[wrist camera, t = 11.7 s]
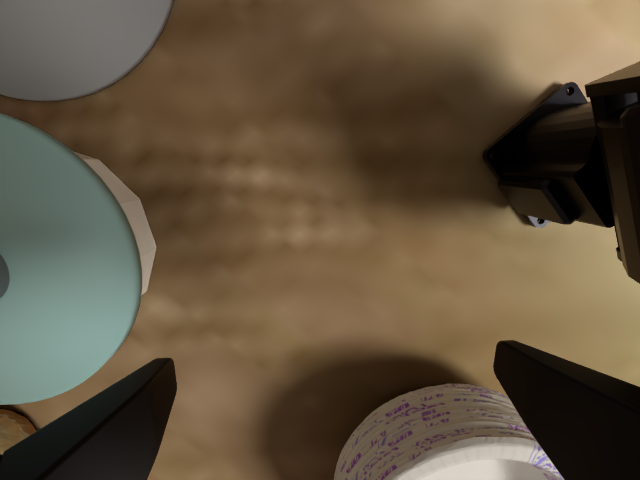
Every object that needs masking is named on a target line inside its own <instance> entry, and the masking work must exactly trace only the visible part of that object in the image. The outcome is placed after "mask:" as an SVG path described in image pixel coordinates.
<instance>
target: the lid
mask: <svg viewBox="0 0 640 480" xmlns="http://www.w3.org/2000/svg"><path fill="white" fill-rule="evenodd" d="M141 294H142V266H141V259H140V252H139V249H138V245H137V242H136V238H135V235H134V232H133V230H132V228H131V225H130V223H129V221H128V218H127V216H126V214H125V212H124V211H123V209H122V207H121V206H120V204H119V202H118V200H117V199H116V197H115V196H114V194H113V193H112V192H111V190H110V189H109V188H108V186H107V185H106V184H105V182H104V181H103V180H102V178H101V177H100V176H99V175H98V174H97V173H96V172H95V171H94V170H93V169H92V168H91V167H90V166H89V165H88V164H87V163H86V162H85V161H84V160H83V159H82V158H80V157H79V156H78V155H77V154H76V153H75V152H73V151H72V150H71V149H70V148H69V147H67V146H66V145H64V144H63V143H61V142H60V141H58V140H57V139H55V138H54V137H52V136H51V135H49V134H48V133H46V132H44V131H42V130H40V129H38V128H36V127H34V126H32V125H30V124H28V123H26V122H24V121H21V120H19V119H16V118H13V117H11V116H8V115H6V114H2V113H0V405H8V404H22V403H29V402H36V401H39V400H43V399H47V398H50V397H54V396H56V395H59V394H61V393H63V392H66V391H68V390H70V389H72V388H74V387H75V386H77V385H79V384H81V383H82V382H84V381H85V380H86V379H88V378H89V377H90V376H92V375H93V374H94V373H95V372H97V371H98V370H99V369H100V368H101V367H102V366H103V365H104V364H105V363H106V362H107V361H108V360H109V359H110V358H111V357H112V356H113V354H114V353H115V352H116V351H117V350H118V349H119V348H120V347H121V345H122V344H123V342H124V341H125V339H126V338H127V336H128V335H129V333H130V331H131V329H132V326H133V324H134V322H135V320H136V317H137V313H138V310H139V307H140V301H141Z"/></svg>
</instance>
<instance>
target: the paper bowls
mask: <svg viewBox="0 0 640 480" xmlns="http://www.w3.org/2000/svg"><path fill="white" fill-rule="evenodd" d="M334 480H564V479H563V477H562V476H561V475H560V473H559V472H558V470H557V469H556V468H555V466H554V465H553V463H552V462H551V461H550V459H549V458H548V456H547V455H546V454H545V452H544V451H543V449H542V448H541V447H540V445H539V444H538V442H537V441H536V440H535V438H534V437H533V436H532V434H531V433H530V431H529V430H528V428H527V427H526V425H525V424H524V422H523V420H522V419H521V417H520V416H519V414H518V412H517V411H516V409H515V407H514V406H513V404H512V402H511V400H510V399H509V398H508V397H506V396H505V395H503V394H501V393H499V392H497V391H493V390H491V389H488V388H483V387H481V386H474V385H471V384H455V383H453V384H450V383H449V384H444V385H437V386H430V387H425V388H421V389H418V390H415V391H410V392H408V393H406V394H403V395H400V396H398V397H396V398H394V399H392V400H390V401H388V402H387V403H385V404H383V405H382V406H380V407H379V408H377V409H376V410H375V411H373V412H372V413H371V414H370V415H369V416H367V417H366V418H365V419H364V420H363V422H362V423H361V424H360V425H359V426H358V427H357V428H356V429H355V431H354V432H353V433H352V435H351V436H350V438H349V439H348V441H347V442H346V444H345V445H344V447H343V449H342V451H341V453H340V456H339V459H338V462H337V465H336V471H335V474H334Z"/></svg>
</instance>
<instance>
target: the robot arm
mask: <svg viewBox="0 0 640 480" xmlns="http://www.w3.org/2000/svg"><path fill="white" fill-rule="evenodd" d="M567 89H568V90H569V94H568V95H567V94H566V90H567ZM585 90H586V95H587V97H590V100H591V102H587V100H586V99H585V97H584V95H583V94H582V92H581V90H580V89H579V87H578V85H577V84H576V83H574V82H569V83H566V84H563V85H561V86H560V87H559V88H558V89H556V90H555V91H554V92H553V93H552V94H551V95H549V96H548V97H547V98H546V99H545V100H543V101H542V102H541V103H540V104H539V105H538V106H536V107H535V108H534V109H533V110H532V111H530V112H529V113H528V114H527V115H526V116H525V117H523V118H522V119H521V120H520V121H519V122H517V123H516V124H515V125H514V126H513V127H512V128H510V129H509V130H508V131H507V132H506V133H504V134H503V135H502V136H501V137H500V138H498V139H497V140H496V141H495V142H494V143H493V144H491V145H490V146H489V147H488V148H487V149H486V150H485V151H484V153H483V159H484V161H485V163H486V164H487V165H488V167H489V168H490V169H491V171H492V172H493V174H494V175H495V176H496V178H497V179H498V187H499V188H500V190H501V191H502V192H503V194H504V195H505V196H506V198H507V199H508V201H509V202H510V203H511V205H512V206H513V207H514V209H515V210H516V212H517V213H519V214H523V215H524V216H525V218H526V219H527V220H528V222H529V223H530V224H531V225H532V226H534V227H538V228H542V227H544V226H546V225H547V224H548V223H550V222H551V221H552V222H556V223H560V224H572V223H573V222H574V221H579V222H584V223H588V224H593V225H598V226H602V227H607V228H611V227H613V226H614V227H615V232H616V237H617V242H618V247H617V248H616V251H617V256H618V259H619V260H620V261H622V262H623V266H624V268H625V270H626V272H627V274H628V276H629V277H631V278H632V279H634V280H635V281H637V282H638V283H640V62H637V63H635V64H633V65H630V66H628V67H626V68H623V69H621V70H619V71H616V72H614V73H612V74H609V75H607V76H605V77H602V78H600V79H598V80H595V81H593V82H591V83H588V84H586V85H585ZM492 151H493V152H494V154H495V155H494V158H493V159H492V158H491V157H490V154H491V152H492ZM538 218H540V221H539V222H538V223H537V219H538ZM493 367H494V373H495V375H496V377H497V379H498V380H499V382H500V384H501V385H502V387H503V389H504V390H505V392H506V394H507V395H508V397H509V399H510V400H511V402H512V404H513V406H514V407H515V409H516V411H517V412H518V414H519V416H520V417H521V419H522V420H523V422H524V424H525V425H526V427H527V428H528V430H529V431H530V433H531V434H532V436H533V437H534V438H535V440H536V441H537V442H538V444H539V445H540V447H541V448H542V449H543V451H544V452H545V454H546V455H547V456H548V458H549V459H550V461H551V462H552V463H553V465H554V466H555V468H556V469H557V470H558V472H559V473H560V475H561V476H562V477H563V479H564V480H640V387H638V386H636V385H633V384H630V383H627V382H625V381H622V380H619V379H617V378H614V377H611V376H609V375H606V374H603V373H601V372H598V371H595V370H592V369H590V368H587V367H584V366H582V365H579V364H576V363H574V362H571V361H568V360H566V359H563V358H560V357H558V356H555V355H552V354H549V353H547V352H544V351H541V350H539V349H536V348H533V347H531V346H528V345H525V344H523V343H520V342H517V341H514V340H505V341H499V342H498V343H497V346H496V352H495V358H494V365H493ZM176 391H177V382H176V374H175V366H174V361H173V359H171V358H157V359H154V360H152V361H151V362H149V363H148V364H146V365H144V366H143V367H141V368H139V369H138V370H136V371H134V372H133V373H131V374H130V375H128V376H126V377H125V378H123V379H121V380H120V381H118V382H116V383H115V384H113V385H112V386H110V387H108V388H107V389H105V390H103V391H102V392H100V393H98V394H97V395H95V396H94V397H92V398H90V399H89V400H87V401H85V402H84V403H82V404H80V405H79V406H77V407H76V408H74V409H72V410H71V411H69V412H67V413H66V414H64V415H62V416H61V417H59V418H58V419H56V420H54V421H53V422H51V423H49V424H48V425H46V426H45V427H43V428H41V429H40V430H38V431H36V432H35V433H33V434H31V435H30V436H28V437H27V438H25V439H23V440H22V441H20V442H18V443H17V444H15V445H13V446H12V447H10V448H9V449H7V450H5V451H4V453H3V455H2V454H0V480H147V478H148V476H149V473H150V471H151V469H152V466H153V464H154V461H155V459H156V456H157V454H158V451H159V448H160V445H161V441H162V438H163V435H164V432H165V428H166V425H167V422H168V419H169V415H170V412H171V409H172V405H173V402H174V399H175V396H176Z"/></svg>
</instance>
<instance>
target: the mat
mask: <svg viewBox="0 0 640 480" xmlns="http://www.w3.org/2000/svg"><path fill="white" fill-rule="evenodd" d="M173 2H174V0H0V95H4V96H8V97H12V98H17V99H23V100H31V101H64V100H72V99H78V98H81V97H84V96H88V95H91V94H94V93H97V92H99V91H101V90H103V89H105V88H107V87H109V86H112V85H113V84H115V83H116V82H118V81H119V80H120V79H122V78H123V77H125V76H126V75H128V74H129V73H130V72H131V71H132V70H133V69H134V68H135V67H136V66H137V65H138V64H140V63H141V62H142V60H143V59H144V58H145V57H146V55H147V54H148V53H149V52H150V50H151V49H152V48H153V46H154V45H155V43H156V41H157V40H158V38H159V36H160V34H161V33H162V31H163V29H164V27H165V24H166V22H167V19H168V17H169V15H170V12H171V10H172V6H173Z"/></svg>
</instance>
